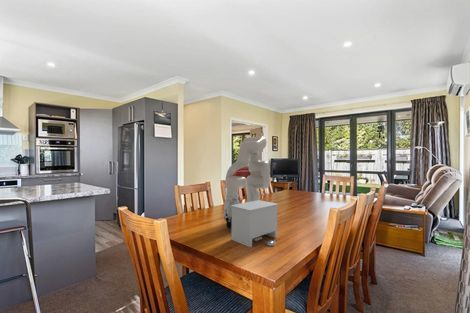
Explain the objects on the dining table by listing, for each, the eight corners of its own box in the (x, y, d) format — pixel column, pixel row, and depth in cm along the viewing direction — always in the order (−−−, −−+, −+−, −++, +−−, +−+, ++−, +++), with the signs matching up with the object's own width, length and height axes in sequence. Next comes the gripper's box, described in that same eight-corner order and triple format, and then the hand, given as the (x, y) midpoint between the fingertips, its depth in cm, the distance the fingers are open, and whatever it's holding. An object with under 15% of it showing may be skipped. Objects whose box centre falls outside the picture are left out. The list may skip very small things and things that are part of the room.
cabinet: (258, 230, 143) (258, 200, 142) (278, 237, 131) (278, 203, 131) (230, 239, 127) (230, 205, 127) (249, 247, 116) (250, 210, 116)
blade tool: (233, 228, 147) (233, 214, 147) (261, 238, 129) (261, 222, 129) (226, 230, 143) (227, 215, 143) (255, 240, 126) (255, 224, 125)
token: (270, 242, 124) (270, 239, 124) (277, 245, 120) (277, 242, 120) (263, 244, 121) (263, 241, 121) (270, 247, 117) (270, 244, 117)
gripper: (238, 195, 152) (238, 223, 152) (217, 198, 140) (217, 228, 140) (246, 197, 146) (246, 225, 146) (225, 200, 135) (225, 231, 135)
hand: (232, 226), depth 143 cm, fingers open, 5 cm apart
